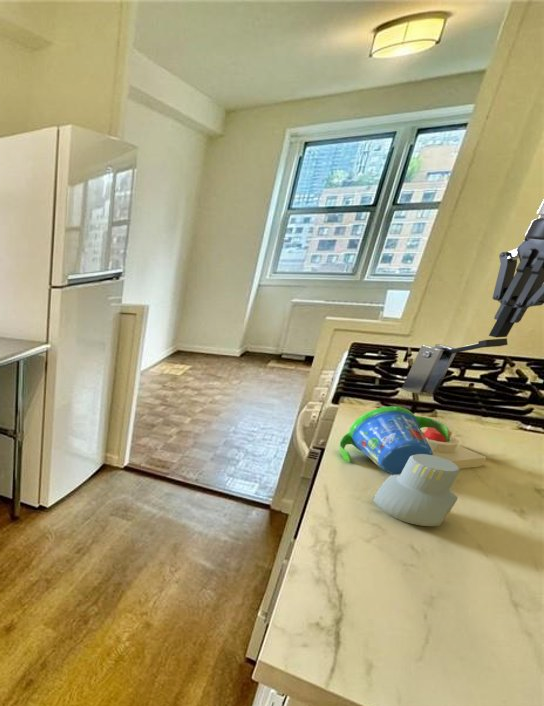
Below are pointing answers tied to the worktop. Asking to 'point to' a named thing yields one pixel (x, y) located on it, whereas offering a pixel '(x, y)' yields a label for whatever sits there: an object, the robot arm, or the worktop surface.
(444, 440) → the button
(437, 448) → the button housing
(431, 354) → the lever bracket
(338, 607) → the worktop surface
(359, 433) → the snack cup
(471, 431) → the worktop surface
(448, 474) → the air freshener
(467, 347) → the dark gray lever
